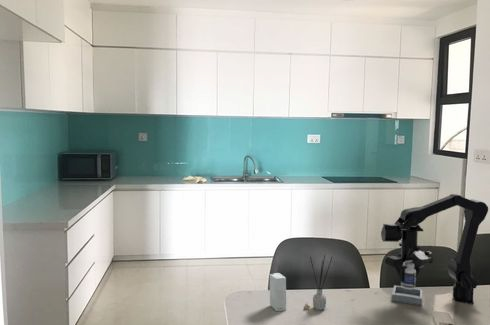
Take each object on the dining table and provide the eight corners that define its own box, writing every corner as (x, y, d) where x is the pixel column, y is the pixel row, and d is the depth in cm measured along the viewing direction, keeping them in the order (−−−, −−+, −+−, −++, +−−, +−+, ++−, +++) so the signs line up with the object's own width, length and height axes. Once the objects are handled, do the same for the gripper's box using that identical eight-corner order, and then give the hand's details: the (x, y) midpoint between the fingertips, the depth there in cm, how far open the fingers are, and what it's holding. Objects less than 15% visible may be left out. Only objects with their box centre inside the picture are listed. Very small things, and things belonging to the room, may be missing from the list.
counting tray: (422, 295, 158) (422, 289, 158) (421, 305, 149) (422, 299, 148) (394, 291, 163) (394, 285, 162) (391, 300, 153) (392, 294, 153)
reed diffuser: (328, 305, 148) (330, 252, 147) (334, 313, 141) (336, 258, 140) (302, 306, 147) (303, 253, 146) (307, 314, 140) (308, 259, 139)
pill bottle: (417, 290, 152) (417, 265, 152) (402, 289, 153) (402, 264, 153) (413, 285, 157) (414, 261, 157) (399, 284, 158) (400, 260, 158)
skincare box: (286, 310, 143) (287, 277, 143) (275, 312, 142) (276, 279, 141) (279, 303, 149) (280, 272, 149) (268, 305, 148) (269, 273, 147)
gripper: (405, 249, 144) (404, 291, 144) (444, 245, 150) (443, 285, 151) (384, 242, 154) (383, 281, 155) (422, 238, 160) (420, 275, 161)
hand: (408, 281), depth 155 cm, fingers closed on pill bottle, 5 cm apart
